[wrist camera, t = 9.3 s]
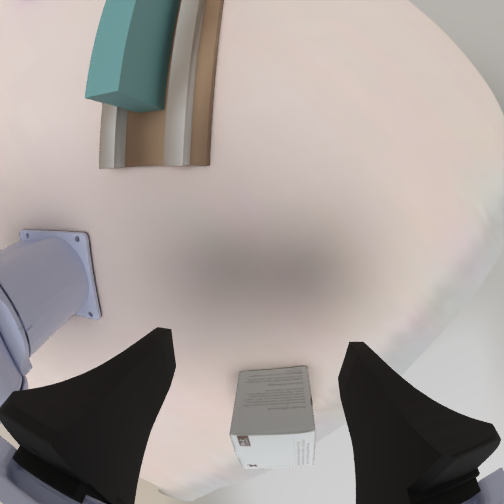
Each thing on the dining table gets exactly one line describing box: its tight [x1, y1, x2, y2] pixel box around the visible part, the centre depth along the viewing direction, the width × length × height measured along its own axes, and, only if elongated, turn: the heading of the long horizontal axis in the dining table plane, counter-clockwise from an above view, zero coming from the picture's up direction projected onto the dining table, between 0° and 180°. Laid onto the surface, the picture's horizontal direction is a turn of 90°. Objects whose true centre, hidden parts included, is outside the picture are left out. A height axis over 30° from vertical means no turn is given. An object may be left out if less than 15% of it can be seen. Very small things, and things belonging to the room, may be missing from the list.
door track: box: [99, 0, 224, 169], centre depth 13 cm, size 8×18×2 cm, turn 177°
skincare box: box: [230, 366, 316, 469], centre depth 20 cm, size 6×6×7 cm
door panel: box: [85, 0, 180, 113], centre depth 11 cm, size 2×10×6 cm, turn 177°
